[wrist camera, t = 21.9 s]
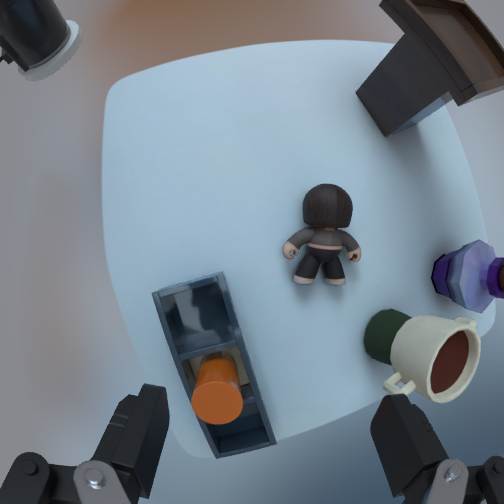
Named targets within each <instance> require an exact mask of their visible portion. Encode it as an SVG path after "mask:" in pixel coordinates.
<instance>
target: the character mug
mask: <svg viewBox="0 0 504 504" xmlns="http://www.w3.org/2000/svg"><path fill="white" fill-rule="evenodd" d="M476 327H477V322H476V321H475V320H473V319H469V318H464V317H456V318H455V319H453V320H450V319H446V318H442V317H438V316H434V315H417V316H415V317H413V318H411V317H410V316H408V315H406V314H404V313H402V312H399V311H396V310H394V309H388V310H382V311H380V312H379V313H378V314H376V315H375V316H374V317H372V319H371V321H370V322H369V324H368V326H367V328H366V332H365V339H364V343H365V347H366V352H367V353H368V354H369V355H370V357H371V358H372V359H375V360H377V361H379V362H382V363H385V364H388V365H391V366H392V367H393V371H394V374H393V375H392V376H391V377H389V378H388V379H387V380H386V381H385V382H384V383H383V389H384V390H385V391H387V392H388V393H389V394H390V395H393V394H401V393H404V394H405V395H406V396H408V395H409V394H410V393H412V392H413V391H414V390H415V391H416V392H418V393H419V394H421V395H423V396H425V397H426V398H428V399H429V400H432V401H435V402H439V403H445V402H449V401H451V400H453V399H455V398H456V397H458V396H459V395H460V394H461V393H462V392H463V391H464V390H465V388H466V387H467V386H468V384H469V383H470V381H471V380H472V378H473V376H474V374H475V371H476V369H477V366H478V362H479V358H480V353H481V348H480V347H481V346H480V337H479V335H478V333H477V330H476ZM400 381H401V382H403V383H404V384H405V385H404V386H403V387H401V388H399V387H397V386H396V384H397V383H399V382H400Z"/></svg>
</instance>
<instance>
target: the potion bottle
mask: <svg viewBox="0 0 504 504" xmlns="http://www.w3.org/2000/svg"><path fill="white" fill-rule="evenodd" d="M431 280H432V283H433V285H434V288H435V291H436V293H439V294H442V295H445V296H447V297H449V298H451V299H452V301H453V302H455V303H456V304H458V305H460V306H462V307H464V308H466V309H468V310H472V311H475V312H478V313H482V312H483V311H484V310H485V309H486V308H487V307H488V305H489V304H490V303H491V302H492V300H493V299H494V298H495V297H496V298H503V299H504V258H496V256H495V252H494V249H493V247H491V246H489V245H488V244H486V243H484V242H483V241H481V240H476V241H474V242H472V243H469V244H467V245H464V246H463V247H462V248H461V249H459V250H457V251H454V252H451V253H449V254H446V255H445V254H443V255H442V256H441V257H440V258H439V259H437V260H436V261H435V262H434V266H433V271H432V276H431Z"/></svg>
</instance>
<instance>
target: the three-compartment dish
mask: <svg viewBox="0 0 504 504" xmlns="http://www.w3.org/2000/svg"><path fill="white" fill-rule="evenodd" d="M152 296H153V299H154V303H155V306H156V309H157V312H158V316H159V319H160V322H161V325H162V328H163V331H164V334H165V337H166V340H167V343H168V346H169V348H170V351H171V354H172V357H173V360H174V362H175V365H176V368H177V370H178V373H179V376H180V378H181V381H182V383H183V386H184V388H185V391H186V393H187V396H188V398H189V401H190V403H191V399H192V395H193V390H194V385H195V380H196V376H197V371H198V367H199V363H200V360H201V359H202V357H203V356H204V355H207V354H210V353H214V352H218V351H224V352H227V353H229V354H230V355H231V356H233V358H234V359H235V360H236V362H237V366H238V372H239V378H240V385H241V391H242V398H243V409H242V411H241V413H240V415H239V416H238V417H237V418H236V419H235V420H233V421H231V422H229V423H226V424H211V423H207V422H205V421H203V420H202V419H200V418H199V417H198V416H197V415H196V414H195V415H196V417H197V419H198V422H199V424H200V426H201V428H202V430H203V433H204V435H205V437H206V439H207V441H208V443H209V445H210V448H211V450H212V452H213V454H214V456H215V458H216V459H217V458H221V457H227V456H232V455H236V454H241V453H245V452H249V451H253V450H257V449H261V448H264V447H268V446H271V445H275V444H277V442H276V439H275V436H274V433H273V430H272V427H271V424H270V421H269V418H268V415H267V412H266V409H265V406H264V403H263V400H262V397H261V394H260V390H259V387H258V384H257V381H256V378H255V375H254V372H253V369H252V365H251V362H250V359H249V356H248V353H247V350H246V346H245V343H244V340H243V337H242V333H241V330H240V327H239V323H238V320H237V317H236V313H235V310H234V307H233V303H232V300H231V296H230V293H229V289H228V286H227V283H226V279H225V276H224V272H219V273H216V274H212V275H208V276H205V277H201V278H198V279H194V280H190V281H187V282H183V283H180V284H176V285H172V286H169V287H165V288H162V289H160V290H157V291H155V292H153V293H152ZM191 405H192V404H191Z"/></svg>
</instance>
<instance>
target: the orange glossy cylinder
mask: <svg viewBox="0 0 504 504" xmlns="http://www.w3.org/2000/svg"><path fill="white" fill-rule="evenodd" d="M191 404H192V408H193V411H194V412H195V414H196V415H197V416H198V417H199V418H200V419H202V420H203V421H205V422H207V423H211V424H226V423H229V422H231V421H233V420H235V419H236V418H237V417H238V416H239V415H240V413H241V411H242V409H243V398H242V391H241V385H240V378H239V372H238V366H237V362H236V360H235V359H234V358H233V356H231V355H230V354H229V353H227V352H224V351H218V352H214V353H210V354H207V355H204V356H203V357H202V359H201V360H200V363H199V367H198V371H197V376H196V380H195V385H194V390H193V395H192V399H191Z"/></svg>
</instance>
